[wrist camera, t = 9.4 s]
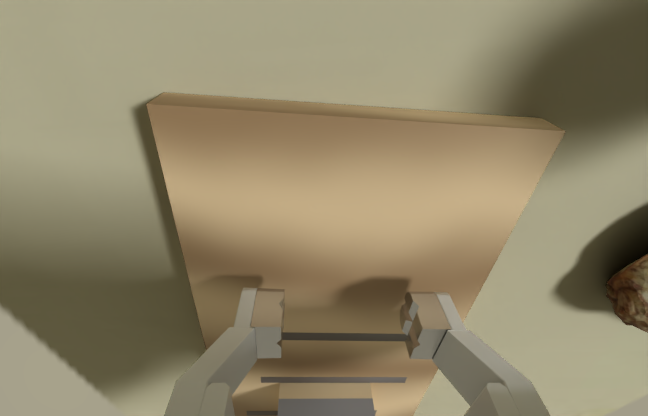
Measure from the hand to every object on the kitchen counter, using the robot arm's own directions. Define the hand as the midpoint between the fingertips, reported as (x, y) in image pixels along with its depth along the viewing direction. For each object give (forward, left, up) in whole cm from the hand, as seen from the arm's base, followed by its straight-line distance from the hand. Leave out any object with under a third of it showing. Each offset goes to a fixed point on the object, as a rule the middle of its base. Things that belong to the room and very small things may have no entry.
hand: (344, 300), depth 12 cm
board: (+6, 0, -2) cm, 6 cm away
